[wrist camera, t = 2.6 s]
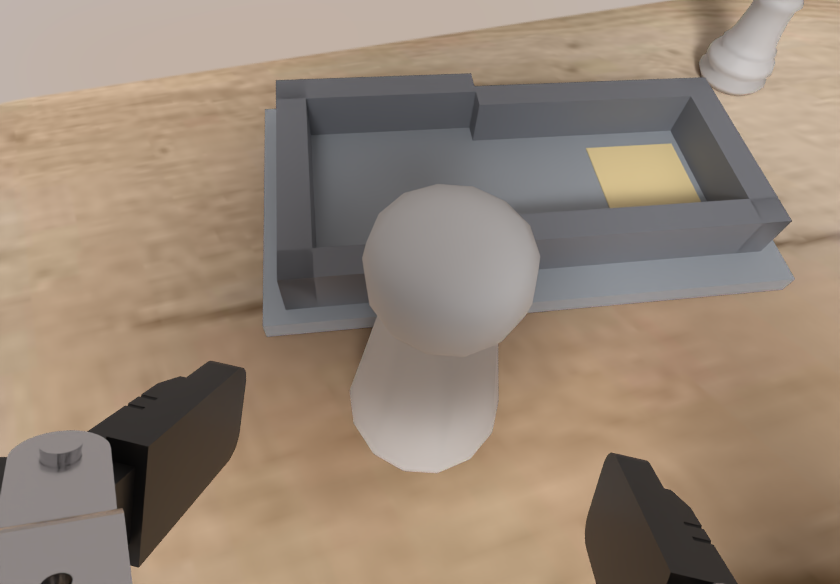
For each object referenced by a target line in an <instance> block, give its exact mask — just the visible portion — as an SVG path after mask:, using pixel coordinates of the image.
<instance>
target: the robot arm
mask: <svg viewBox="0 0 840 584" xmlns="http://www.w3.org/2000/svg"><path fill="white" fill-rule="evenodd" d="M245 384H246V371H245V369H244V368H241V367H237V366H232V365H228V364H223V363H219V362H215V361H209V362H207V363H206V364H204V365H203V366H202V367H200V368H199V369H197V370H196V371H195V372H193V373H192V374H191V375H189V376H188V377H187V378H185V377H181V376H180V377H177V378H174V379H170V380H167V381H164V382H161V383H158V384H156V385H155V386H153V387H152V388H150V389H149V390H147V391H146V392H145V393H143V394H142V395H141V397H137V398H136V399H134V400H133V401H131V402H130V403H128V406H124V407H123V408H121V409H120V410H118V411H117V412H115V413H114V414H112V415H111V416H109V417H108V418H106V419H105V420H104V421H102V422H101V423H99V424H98V425H96V426H95V427H93V428H92V429H90V430H89V431H87V432H86V431H71V430H70V431H57V432H51V433H46V434H42V435H39V436H35V437H33V438H30V439H28V440H26V441H24V442H22V443H20V444H19V445H17V446H16V447H15V448H14V449H12V450H11V452H10V453H9V454H8V457H0V584H132V577H131V568H130V565H131V566H135V567H140V565H141V564H142V563H143V562H144V561H145V560H146V558H147V557H148V556H149V555H150V554H151V552H152V551H153V550H154V549H155V548H156V546H157V545H158V544H159V543H160V542H161V541H162V539H163V538H164V537H165V536H166V535H167V533H168V532H169V531H170V530H171V529H172V527H173V526H174V525H175V524H176V523H177V522H178V520H179V519H180V518H181V517H182V516H183V514H184V513H185V512H186V511H187V510H188V508H189V507H190V506H191V505H192V504H193V503H194V501H195V500H196V499H197V498H198V497H199V495H200V494H201V493H202V492H203V491H204V489H205V488H206V487H207V486H208V485H209V484H210V482H211V481H212V480H213V479H214V478H215V476H216V475H217V474H218V473H219V472H220V470H221V469H222V468H223V467H224V466H225V465H226V463H227V462H228V461H229V459H230V458H231V456H232V454H233V452H234V450H235V447H236V444H237V441H238V437H239V432H240V424H241V416H242V408H243V400H244V392H245ZM585 544H586V549H587V552H588V556H589V559H590V563H591V567H592V570H593V574H594V577H595V581H596V584H737V582H736V580H735V579H734V577H733V576H732V574H731V572H730V571H729V569H728V568H727V566H726V564H725V563H724V561H723V559H722V558H721V556H720V555H719V553H718V551H717V550H716V548H715V547H714V545H712V544H711V540H710V538H709V537H708V535H707V534H706V532H705V530H704V529H701V524H700V522H699V521H698V519H697V517H696V516H695V514H694V513H693V511H692V509H691V508H690V507H689V506H688V505H687V504H686V503H685V502H684V501H682V500H681V499H680V498H679V497H678V496H677V495H676V494H675V493H674V492H672V491H671V490H668V489H664V487H663V486H662V484H661V482H660V481H659V479H658V477H657V475H656V474H655V472H654V470H653V468H652V467H651V465H650V463H649V462H648V461H646V460H642V459H637V458H633V457H629V456H624V455H620V454H615V453H610V454H609V455H608V456H607V457H606V459H605V462H604V464H603V468H602V471H601V474H600V477H599V480H598V484H597V487H596V490H595V493H594V496H593V500H592V503H591V506H590V509H589V512H588V516H587V520H586V527H585Z"/></svg>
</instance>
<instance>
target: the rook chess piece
mask: <svg viewBox="0 0 840 584" xmlns="http://www.w3.org/2000/svg"><path fill="white" fill-rule="evenodd" d="M803 5H804V0H753V2H752V4H751V5H750V7H749V8H748V9H747V10H746V12H745V13H744V14H743V16H742V17H741V18H740V19H739V21H738V22H737V23H736V24H735V25H734V26H733V27H732V28H731V29H730V30H728V31H726V32H725V33H724V35H723V36H721V37H719V38H717V39H715V40H714V41H713V42H712V43H711V44H710V45H709V47H708V49H707V53H706V54H704V55H702V57H701V59H700V61H699V66H700V71H701V76H702V77H705V78H706V80H707V81H708V83H709V85H710V86H711V87H712V88H714V89H715V90H717V91H720V92H722V93H725V94H727V95H734V96H743V95H749V94H751V93H754V92H756V91H758V90H760V89H761V88H763V87H764V85H765V82H766V78H767V77H768V76H770V75H771V73H772V70H773V67H774V65H775V59H774V57H775V56H776V53H777V49H776V46H777V43H778V41H779V39H780V37H781V35H782V33H783V31H784V29H785V28H786V26H787V24H788V22H789V21H790V19H791V18H792V16H793V15H794V13H795V12H797V11H798V10H800V9H802V8H803Z"/></svg>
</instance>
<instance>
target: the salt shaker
mask: <svg viewBox="0 0 840 584" xmlns="http://www.w3.org/2000/svg"><path fill="white" fill-rule="evenodd" d="M362 261H363V268H364V274H365V280H366V286H367V292H368V299H369V305H370V306H371V308H372V309H373V310H374V312H375V313H376V315H377V318H376V320H375V323H374V326H373V328H372V331H371V334H370V337H369V339H368V342H367V345H366V347H365V350H364V353H363V356H362V358H361V361H360V364H359V366H358V369H357V372H356V375H355V377H354V380H353V383H352V385H351V388H350V398H351V406H352V414H353V421H354V424H355V426H356V428H357V429H358V431H359V432H360V434H361V435H362V437H363V438H364V440H365V441H366V443H367V444H368V446H369V447H370V449H371V451H372V452H373V453H374V454H375V455H376V456H378V457H380V458H382V459H383V460H385V461H387V462H389V463H390V464H392V465H394V466H396V467H397V468H399V469H401V470H403V471H411V472H426V473H439V472H441V471H444V470H446V469H448V468H451V467H453V466H455V465H458V464H460V463H462V462H465V461H467V460H469V459H470V458H471V457H472V456H473V455H474V454H475V452H476V451H477V450H478V449H479V448H480V446H481V445H482V444H483V443H484V442H485V440H486V439H487V438H488V437H489V436H490V434H491V433H492V431H493V426H494V421H495V416H496V411H497V406H498V343H500V342H502V341H503V340H504V338H505V337H506V336H507V335H508V334H509V333H510V332H511V331H512V330H513V329H514V328H515V327H516V326H517V324H518V323H519V322H520V321H521V320H522V319H523V318H524V317H525V315H526V314H527V312H528V310H529V309H530V307H531V305H532V303H533V297H534V292H535V287H536V281H537V276H538V270H539V262H540V254H539V251H538V248H537V245H536V242H535V239H534V236H533V233H532V230H531V227H530V225H529V224H528V223H527V222H526V221H525V220H524V219H523V218H522V217H521V216H520V215H519V214H518V213H517V212H516V211H515V210H514V209H513V208H512V207H511V206H510V205H509V204H508V203H507V202H506V201H504V200H502V199H499V198H497V197H495V196H493V195H491V194H488V193H486V192H484V191H482V190H480V189H478V188H475V187H473V186H459V185H445V184H435V185H432V186H428V187H424V188H421V189H417V190H413V191H409V192H406V193H403V194H402V195H401V196H400V197H398V198H397V199H396V200H395V201H394V202H392V203H391V204H390V205H389V206H388V207H386V208H385V209H384V210H383V211H382V212H380V213H379V214H378V216H377V219H376V221H375V223H374V226H373V228H372V230H371V233H370V235H369V237H368V240H367V242H366V245H365V249H364V253H363V257H362Z"/></svg>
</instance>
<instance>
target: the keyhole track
mask: <svg viewBox="0 0 840 584" xmlns="http://www.w3.org/2000/svg"><path fill="white" fill-rule="evenodd" d="M435 184H445V185H459V186H473V187H475V188H478V189H480V190H482V191H484V192H486V193H488V194H491V195H493V196H495V197H497V198H499V199H502V200H504V201H506V202H507V203H508V204H509V205H510V206H511V207H512V208H513V209H514V210H515V211H516V212H517V213H518V214H519V215H520V216H521V217H522V218H523V219H524V220H525V221H526V222H527V223H528V224H529V225H530V227H531V230H532V233H533V236H534V239H535V242H536V245H537V248H538V251H539V254H540V262H539V270H538V276H537V281H536V287H535V292H534V297H533V303H532V305H531V307H530V309H529V310H528V312H527V313H532V312H543V311H554V310H564V309H575V308H586V307H597V306H608V305H619V304H630V303H641V302H652V301H663V300H674V299H685V298H695V297H706V296H717V295H728V294H739V293H750V292H761V291H772V290H782V289H784V288H785V287H786V286H787V285H789V284H790V283H791V282H792V281H793V280H795V278H794V277H793V275H792V273H791V271H790V270H789V268H788V266H787V264H786V262H785V261H784V259H783V257H782V255H781V254H780V252H779V250H778V248H777V247H776V245H775V243H774V241H773V239H774V238H775V237H776V236H777V235H778V234H779V233H780V232H781V231H782V230H783V229H784V228H785V227H786V226H787V225H788V224H789V223H790V222H791V221H792V220H791V218H790V217H789V215H788V213H787V212H786V210H785V209H784V207H783V205H782V204H781V202H780V200H779V199H778V197H777V195H776V194H775V192H774V190H773V189H772V187H771V185H770V184H769V182H768V180H767V179H766V177H765V175H764V174H763V172H762V170H761V169H760V167H759V166H758V164H757V162H756V161H755V159H754V157H753V156H752V154H751V152H750V151H749V149H748V147H747V146H746V144H745V142H744V141H743V139H742V137H741V136H740V134H739V132H738V131H737V129H736V127H735V126H734V124H733V123H732V121H731V119H730V118H729V116H728V114H727V113H726V111H725V109H724V108H723V106H722V104H721V103H720V101H719V99H718V98H717V96H716V94H715V93H714V91H713V89H712V88H711V86H710V85H709V83H708V81H707V80H706V78H705V77H702V78H675V79H649V80H623V81H597V82H570V83H544V84H518V85H491V86H474V83H473V79H472V76H471V73H470V74H441V75H413V76H384V77H356V78H327V79H299V80H276V109H265V168H264V261H263V329H264V331H265V334H266V336H267V337H270V336H281V335H292V334H302V333H313V332H324V331H335V330H346V329H357V328H368V327H373V326H374V323H375V320H376V318H377V315H376V313H375V312H374V310H373V309H372V308H371V306H370V305H369V299H368V292H367V286H366V280H365V274H364V268H363V261H362V257H363V253H364V249H365V245H366V242H367V240H368V237H369V235H370V233H371V230H372V228H373V226H374V223H375V221H376V219H377V216H378V214H379V213H380V212H382V211H383V210H384V209H385V208H386V207H388V206H389V205H390V204H391V203H392V202H394V201H395V200H396V199H397V198H398V197H400V196H401V195H402V194H403V193H406V192H409V191H413V190H417V189H421V188H424V187H428V186H432V185H435Z"/></svg>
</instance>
